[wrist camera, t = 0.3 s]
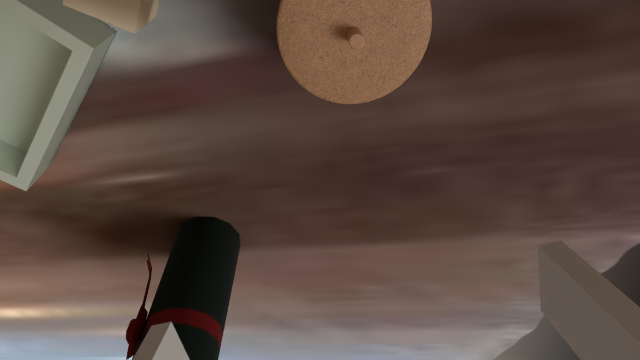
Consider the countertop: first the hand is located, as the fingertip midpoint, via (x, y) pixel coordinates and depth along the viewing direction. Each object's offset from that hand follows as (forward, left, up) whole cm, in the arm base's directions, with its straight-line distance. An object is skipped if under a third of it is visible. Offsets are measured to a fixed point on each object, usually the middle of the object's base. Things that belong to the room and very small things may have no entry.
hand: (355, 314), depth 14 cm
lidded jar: (-4, -1, -27) cm, 27 cm away
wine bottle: (+28, +3, -27) cm, 39 cm away
